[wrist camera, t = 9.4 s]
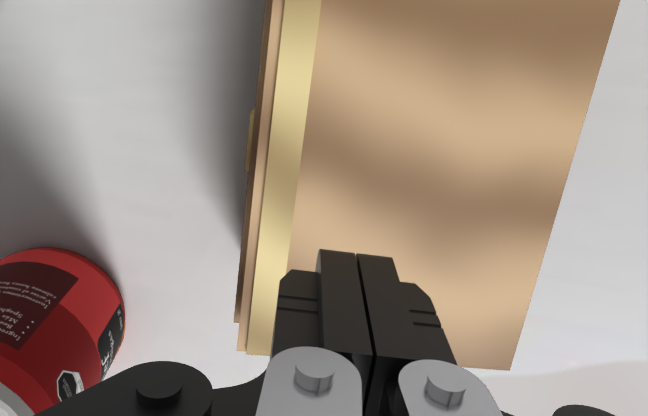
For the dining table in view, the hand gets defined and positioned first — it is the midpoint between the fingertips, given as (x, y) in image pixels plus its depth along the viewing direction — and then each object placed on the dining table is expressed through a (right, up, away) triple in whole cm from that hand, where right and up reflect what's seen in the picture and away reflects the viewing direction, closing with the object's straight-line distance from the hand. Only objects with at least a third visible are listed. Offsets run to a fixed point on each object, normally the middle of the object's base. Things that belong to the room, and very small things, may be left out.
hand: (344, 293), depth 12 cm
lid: (+3, +3, +10) cm, 11 cm away
